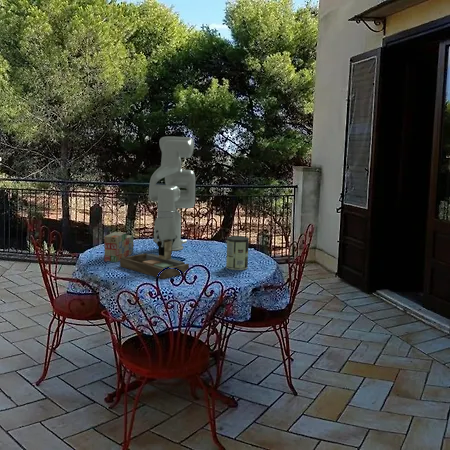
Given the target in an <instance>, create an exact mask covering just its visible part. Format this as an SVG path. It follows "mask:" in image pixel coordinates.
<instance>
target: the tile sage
mask: <svg viewBox="0 0 450 450" xmlns="http://www.w3.org/2000/svg"><path fill="white" fill-rule="evenodd" d="M154 266H155V267H159V268H163V269H164V268H167V267H173V265H172V264H168V263H159V264H154Z"/></svg>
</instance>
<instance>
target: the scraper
mask: <svg viewBox="0 0 450 450" xmlns="http://www.w3.org/2000/svg"><path fill="white" fill-rule="evenodd" d="M160 243H161V242H160ZM163 247H164V256H161V255H159V254H154V253H147V255H146V261H148V260H157V261H160V262H162V263H168V264H172V265H173V267H174V266H178V265H183V264H186V263H185V261H181V260H177V259H174V258H172V254H171V248H172V241H168V240H164V245H163Z"/></svg>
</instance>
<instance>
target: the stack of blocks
mask: <svg viewBox="0 0 450 450" xmlns="http://www.w3.org/2000/svg"><path fill="white" fill-rule="evenodd" d="M103 239H104V245H103V246H104V248H103V249H104V255H103V256H104V262H107V261H111V263H118V262H120V258H123V257H128V256H132V254H134V244H135V243H134V235H129V234H127V232H122V231H120V232H119V231H113V232H112V233H109V234H107V235H104V238H103Z"/></svg>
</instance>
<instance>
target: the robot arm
mask: <svg viewBox="0 0 450 450" xmlns="http://www.w3.org/2000/svg"><path fill="white" fill-rule="evenodd" d="M158 143H159V148H160V151H161V162H160V166H159V167H158V168H157V169H156V170H155V171H154V172H153V174H152V175H151V176H150V180H149V188H148V197H149V199H150V200H152V201H153V202H157V215H156V216H157V217H155V219H154V220H155V221H154V228H153V239H152V242H153V243H155V244H156V246H157V247H158V254H157V255H158V256H159V255H161V256H164V247H163V245H164V240H168V241H172V248H171V255H172V254H173V252H174V251H182V250H183V249H184V246H183V244H187V243H188V242H187V239H182V238H181V233H182V231H181V230H182V215H181V213H180V212H179V210H178V209H192V208H194V207H195V203H196V175H195V172H194V171H193V170H191V169H182V158H184V159H185V158H187V159H189V158H192V156H193V154H194V150H195V142H194V139H193V138H192V137H189V136H188V137H187V136H186V137H185V136H172V135H171V136H162V137H160V139H159V142H158ZM162 179H164V182H165V184H157V183H158V182H159V181H160V180H162ZM181 188H184V189H181ZM185 189H186V190H185ZM160 242H161V243H160Z"/></svg>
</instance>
